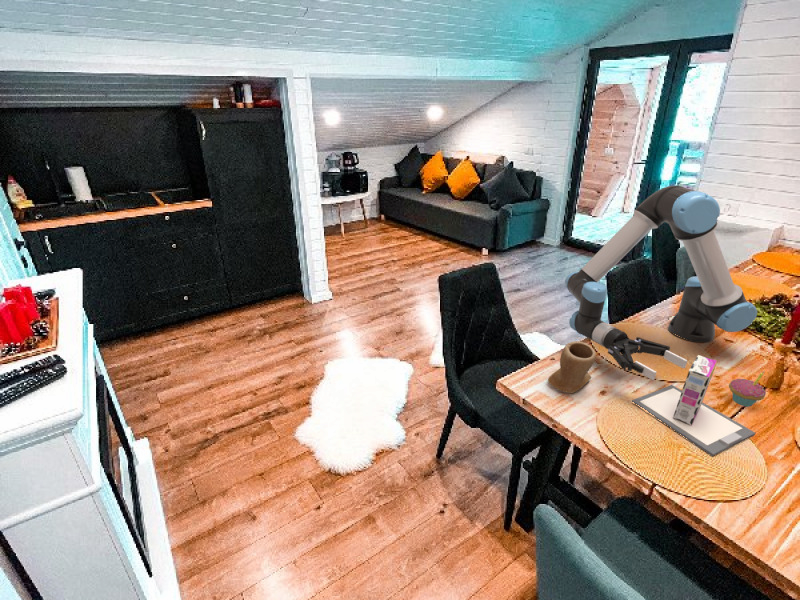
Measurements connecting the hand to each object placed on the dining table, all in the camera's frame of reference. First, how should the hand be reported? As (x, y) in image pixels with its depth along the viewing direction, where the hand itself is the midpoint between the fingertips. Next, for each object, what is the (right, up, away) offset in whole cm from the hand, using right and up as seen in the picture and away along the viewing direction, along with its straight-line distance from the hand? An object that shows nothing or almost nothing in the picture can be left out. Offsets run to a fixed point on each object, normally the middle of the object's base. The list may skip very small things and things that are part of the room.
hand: (670, 370), depth 123 cm
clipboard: (+4, -13, -3) cm, 14 cm away
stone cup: (-24, -7, +13) cm, 28 cm away
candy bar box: (+3, -12, -2) cm, 13 cm away
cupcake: (+24, -10, +3) cm, 26 cm away
